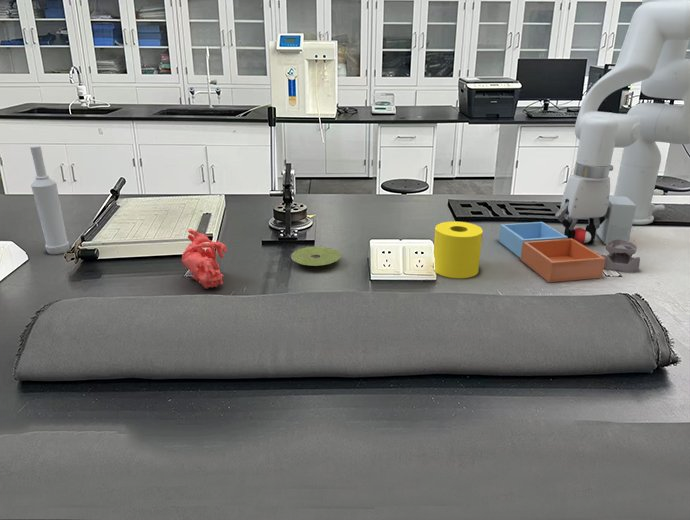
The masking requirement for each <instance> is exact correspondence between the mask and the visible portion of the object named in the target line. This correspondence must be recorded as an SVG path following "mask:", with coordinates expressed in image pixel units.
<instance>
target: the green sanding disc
mask: <svg viewBox="0 0 690 520" xmlns="http://www.w3.org/2000/svg"><path fill="white" fill-rule="evenodd" d="M290 258H291V260H292V261H293V262H295V263H297V264H300V265H303V266H311V267H312V266H315V267H317V266H325V265H331V264H332V263H336V262H337V261H339V260H340V259H341V253H340V252H339V251H338V250H336V249H334V248H331V247H325V246H307V247H302V248H299V249H297V250H294V251H293V252H292V253H291V255H290Z"/></svg>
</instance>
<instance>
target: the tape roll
mask: <svg viewBox="0 0 690 520" xmlns="http://www.w3.org/2000/svg"><path fill="white" fill-rule="evenodd" d="M483 232H484V231H483V228H482V227H480V226H479V225H478V224H474V223H471V222H467V221H444V222H440V223H437V225H435V227H434V241H433V254H434V257H435V266H436V268H435V271H434V272H435V273H436V274H437V275H440V276H442V277H446V278H450V279H467V278H472V277H475V276H477V275H478V274H479V270H480V269H479V267H480V259H481V250H482V240H483Z"/></svg>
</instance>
